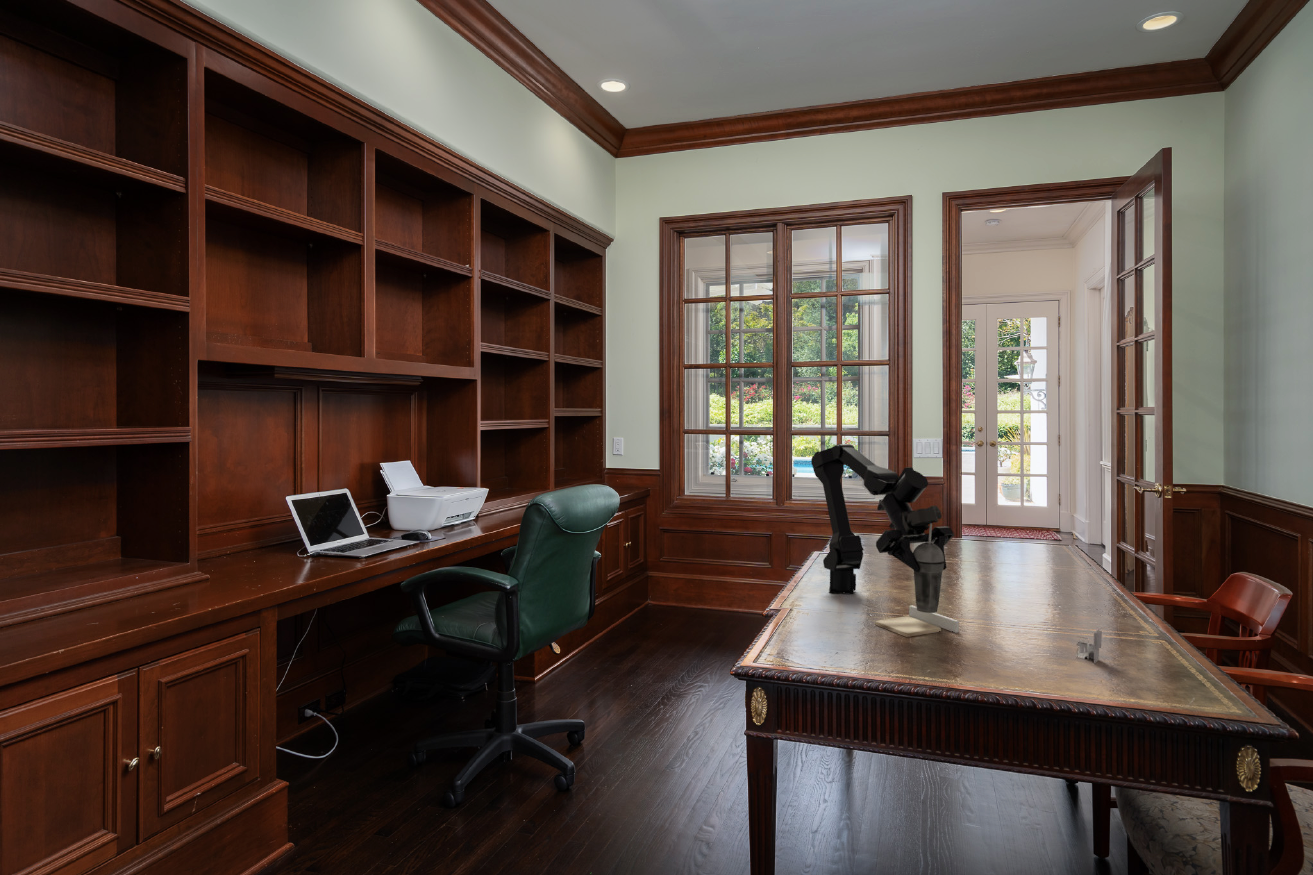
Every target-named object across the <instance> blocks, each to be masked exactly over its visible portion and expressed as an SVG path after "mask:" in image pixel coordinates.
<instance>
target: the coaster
mask: <svg viewBox="0 0 1313 875" xmlns="http://www.w3.org/2000/svg"><path fill="white" fill-rule="evenodd" d="M874 625H875V626H878V627H881V628H883V629H886V630H888V631H890V632H894V633H895V634H899V635H901V636H904V637H906V638H910V637H914V636H922V635H927V634H932V633H933V634H934V633H938V632H939V631H940V632H941V631H942V628H941V627H938V626H936V625H933V624H930V623H927V622H924V621H922V620H919V619H916V618H913V617H911V616H909V615H905V616H900V617H892V618H887V619H886V618H885V619H880V620H874Z"/></svg>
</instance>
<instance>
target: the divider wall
mask: <svg viewBox="0 0 1313 875" xmlns="http://www.w3.org/2000/svg"><path fill="white" fill-rule="evenodd" d="M908 616H909V617H912V618H915V619H918V620H920V621H923V622H926V623H929V624H932V625H934V626H937V627H940V628H941V629H944V630H947V631H949V632H952V631H953V633H956V634H957V633H959V631H960V621H959V620H956V619H954V618H951V617H948V616H945V615H942V614H939V613H937V612H935V613H925V612H920V611H918V610H917V606H916V605H909V611H908Z"/></svg>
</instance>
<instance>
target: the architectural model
mask: <svg viewBox="0 0 1313 875" xmlns="http://www.w3.org/2000/svg"><path fill="white" fill-rule="evenodd" d="M1102 633H1103V631H1102V630H1100V628H1098V629H1096V632H1095V631H1093V643H1090V640H1089V637H1086V642H1085V637H1083V636H1080V635H1079V636H1078V635H1076V638H1078V641H1077V642H1076V647H1077V649H1076V651H1075V658H1076V659H1077V658H1080V659H1084V660H1085V659H1086V658H1087V659H1092V660H1093V664H1094V665H1096V664H1097V662H1098V661H1099V659H1100V658H1099V656H1100V649H1102V636H1103V635H1102ZM1081 639H1082V640H1081ZM1077 656H1078V657H1077Z"/></svg>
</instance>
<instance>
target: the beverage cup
mask: <svg viewBox="0 0 1313 875" xmlns="http://www.w3.org/2000/svg"><path fill="white" fill-rule="evenodd" d="M932 528H933V523H930V524H929V528H928V529H929V530H928V531H929V532H928V533H929V542H928V543H925V542H923V543H920V544H919V545H917V546H916V547H915V548H914V550H912V553H913V555H914V556H915V558H916V560H917V562H918V564H919V567H920V571H919V572H916V571H914V570H913V579H914V580H913V581H914V582H913V583H914V592H915V593H914V595H915V604H916V605H915V606H916V607H917V610H918V611H920V612H925V613H937V612H938V609H939V604H940V595H941V586H942V577H943V571H944V570H943V568H944V563H945V561H944V556H943V553H942V551H941V549H940V548H939V547H938V546H936V545H935V544H933V543H931V532H932V530H933V529H932Z"/></svg>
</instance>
